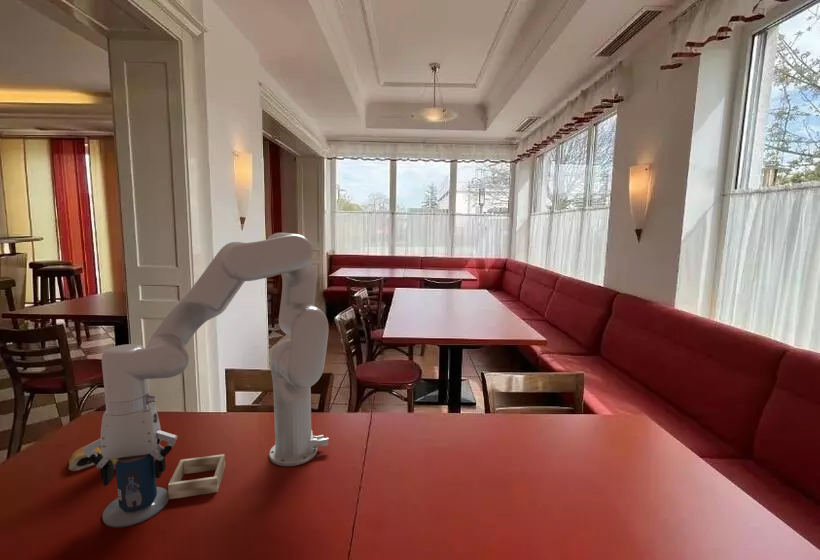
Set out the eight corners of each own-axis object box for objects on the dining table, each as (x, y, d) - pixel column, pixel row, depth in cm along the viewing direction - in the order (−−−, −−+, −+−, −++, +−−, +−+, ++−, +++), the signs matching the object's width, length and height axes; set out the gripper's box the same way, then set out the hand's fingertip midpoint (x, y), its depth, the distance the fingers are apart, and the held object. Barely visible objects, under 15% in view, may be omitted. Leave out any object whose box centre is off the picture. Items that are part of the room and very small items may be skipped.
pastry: (72, 456, 106) (70, 442, 105) (104, 448, 110) (103, 435, 109) (68, 474, 98) (67, 459, 98) (102, 465, 102) (101, 451, 101)
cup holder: (225, 466, 102) (224, 454, 101) (217, 492, 92) (216, 478, 92) (181, 472, 99) (180, 459, 98) (168, 499, 89) (167, 485, 89)
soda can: (149, 489, 92) (145, 441, 90) (163, 501, 88) (159, 451, 86) (114, 506, 86) (109, 454, 84) (126, 520, 82) (121, 466, 80)
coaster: (175, 485, 94) (175, 483, 94) (158, 521, 83) (158, 518, 83) (117, 493, 91) (117, 491, 91) (91, 532, 79) (90, 529, 79)
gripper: (179, 392, 89) (183, 462, 92) (89, 400, 85) (96, 473, 87) (168, 406, 82) (174, 482, 85) (69, 416, 78) (78, 496, 80)
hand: (134, 477), depth 86 cm, fingers open, 9 cm apart
